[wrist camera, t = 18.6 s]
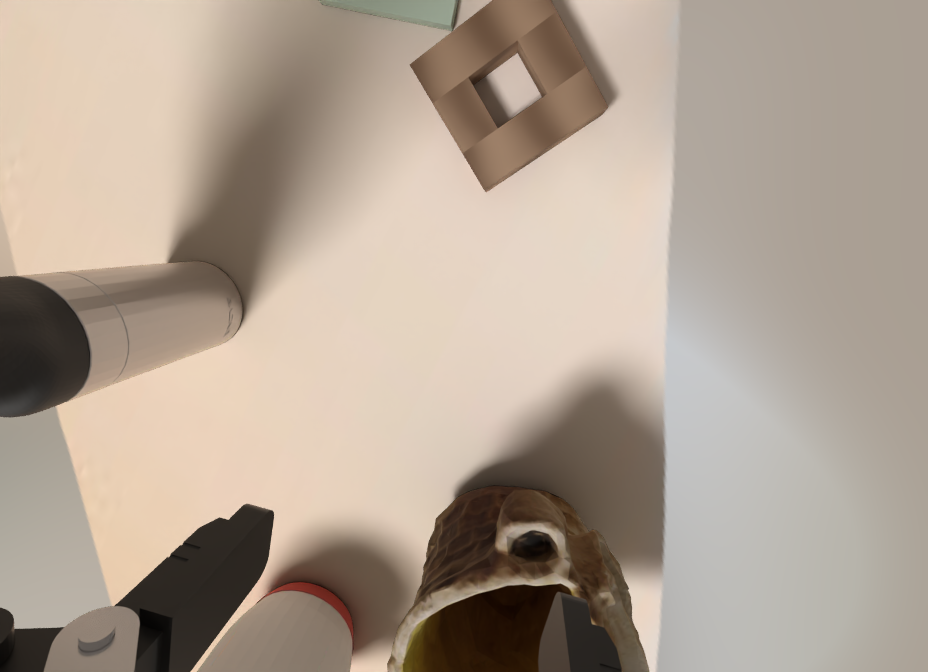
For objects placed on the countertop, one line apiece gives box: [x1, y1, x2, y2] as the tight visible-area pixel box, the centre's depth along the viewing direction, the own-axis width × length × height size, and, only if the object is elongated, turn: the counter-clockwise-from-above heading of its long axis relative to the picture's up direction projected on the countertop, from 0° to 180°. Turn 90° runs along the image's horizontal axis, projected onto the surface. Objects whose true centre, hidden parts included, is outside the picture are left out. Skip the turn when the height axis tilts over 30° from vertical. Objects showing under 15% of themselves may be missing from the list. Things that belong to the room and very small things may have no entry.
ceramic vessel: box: [387, 485, 649, 672], centre depth 38 cm, size 23×24×25 cm
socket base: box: [410, 0, 608, 192], centre depth 38 cm, size 12×12×2 cm
